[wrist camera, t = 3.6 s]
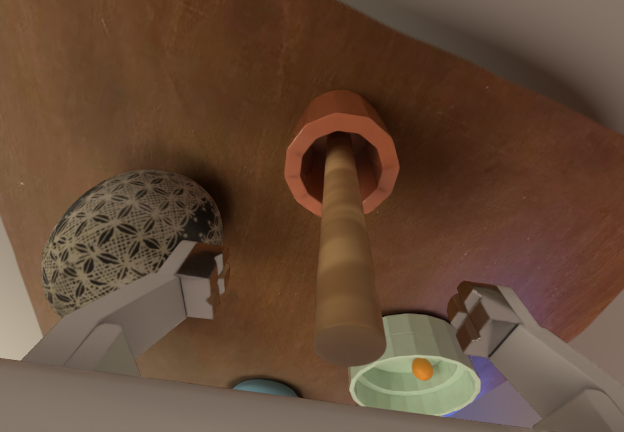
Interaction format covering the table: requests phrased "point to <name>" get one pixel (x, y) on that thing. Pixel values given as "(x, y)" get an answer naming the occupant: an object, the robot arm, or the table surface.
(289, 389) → the sugar bowl
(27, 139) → the table surface
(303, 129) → the utensil pot
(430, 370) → the bead
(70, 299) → the decorative egg
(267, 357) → the table surface
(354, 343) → the stirring stick
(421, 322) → the bowl
